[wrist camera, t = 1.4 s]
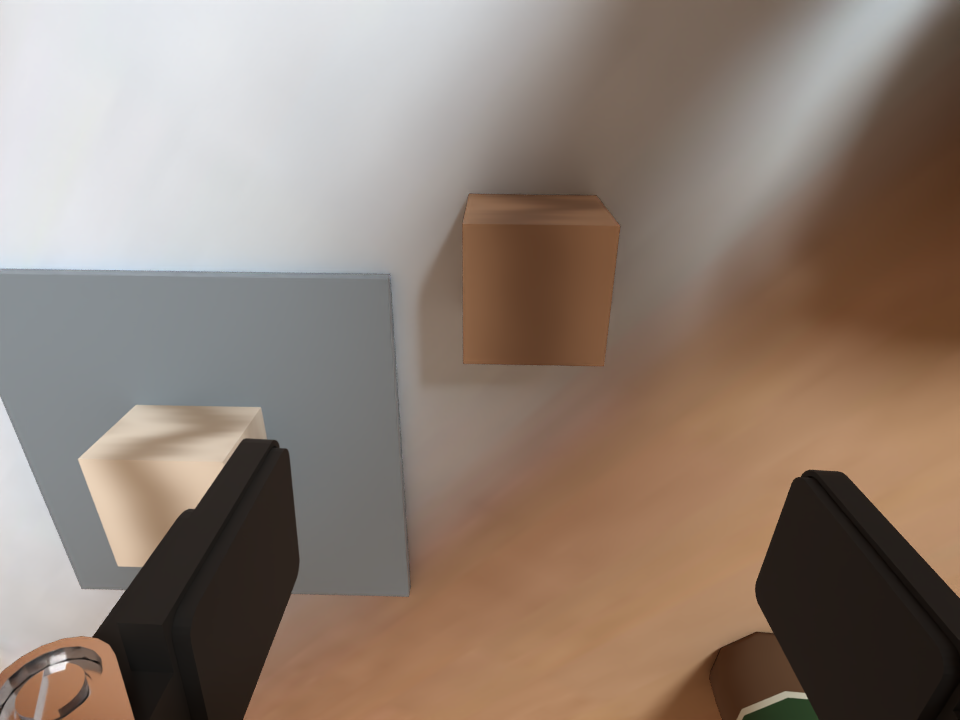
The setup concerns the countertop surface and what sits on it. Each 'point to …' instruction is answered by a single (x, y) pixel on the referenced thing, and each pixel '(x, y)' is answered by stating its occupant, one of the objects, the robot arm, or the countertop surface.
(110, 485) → the cream base block
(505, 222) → the walnut cube
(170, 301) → the board
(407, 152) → the countertop surface
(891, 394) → the countertop surface
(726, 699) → the beer bottle
